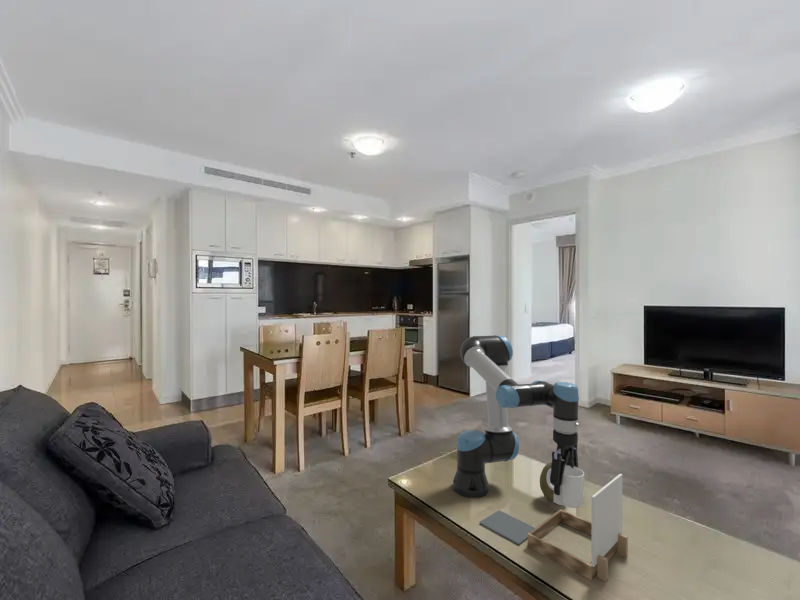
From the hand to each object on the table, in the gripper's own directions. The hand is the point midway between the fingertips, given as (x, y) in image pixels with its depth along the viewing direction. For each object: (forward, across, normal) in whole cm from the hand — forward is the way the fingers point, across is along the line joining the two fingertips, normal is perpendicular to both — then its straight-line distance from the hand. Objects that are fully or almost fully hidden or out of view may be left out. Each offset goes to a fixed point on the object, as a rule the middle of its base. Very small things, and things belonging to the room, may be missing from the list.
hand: (564, 498), depth 126 cm
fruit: (+15, +24, +14) cm, 32 cm away
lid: (+15, 0, -15) cm, 21 cm away
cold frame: (+15, 0, -3) cm, 15 cm away
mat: (+15, -6, +17) cm, 23 cm away
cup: (0, 0, 0) cm, 0 cm away
